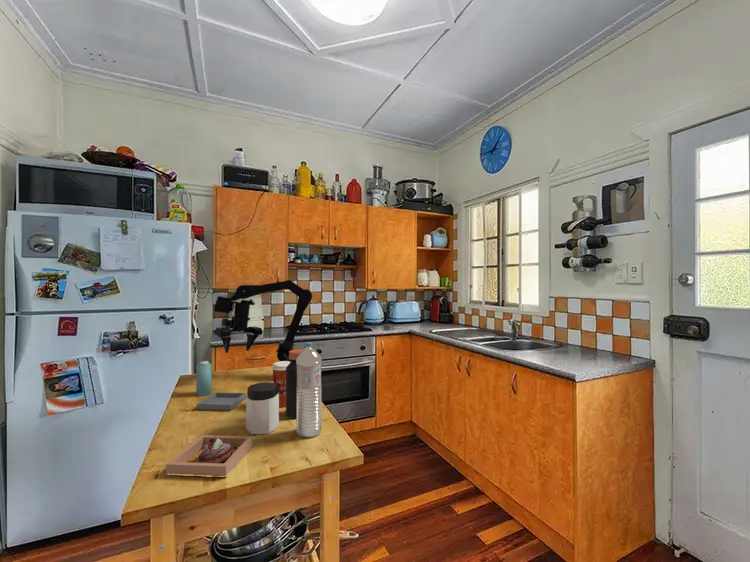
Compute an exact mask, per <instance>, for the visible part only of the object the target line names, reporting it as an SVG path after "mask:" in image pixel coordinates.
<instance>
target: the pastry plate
mask: <svg viewBox="0 0 750 562" xmlns="http://www.w3.org/2000/svg"><path fill="white" fill-rule="evenodd" d="M213 436H214V435H212V434H211V435H210V434H209V435H207V434H202V435H201V436H200V437H198V438H197V439H195V440H194V441H193V442H191V444H189V445H188V446H187V447H185V448H184V449H183V450H182V451H180V452H179V453H178V454H177V455H176V456H175V457H173V458H172V459H171V460H170V461H168V462H167V463H166V464H165V465H166V466H165V473H166V474H168V473H169V474H173V473H174V474H193V475H213V476H226V475H227V474H228V473H229V472H230V471H231V470H232V469H233V468H234V467H235V466H236V465H237V464H238V462H239V461H240V460H241V459H242V458H243V457H244V458H245V457H246V455H247V454H248V453H249V452H248V451H249V450H250V451H251V449H252V448H253V447H254V436H243V435H215V436H216V437H217V439H220V440H221V441H222V443H227V444H230V445H231V446H232V447H239V448H236V450H235V451H233V453H232V456H231V457H230V458H229V459H228V460H227V461H226V462H224V463H222V464H218V463H198V462H188V461H189V460H191V459H192V458H193V457H194V456H195V455H196V454H197V453H199V452H200V451H201V450H202V449H203V448H202V447H203V446H204V445H205V444H206V442H207V441H209V440H210V439H211V438H212V437H213ZM252 446H253V447H252ZM201 448H202V449H201ZM200 449H201V450H200ZM199 450H200V451H199ZM198 451H199V452H198ZM247 452H248V453H247ZM195 453H196V454H195ZM246 453H247V454H246ZM194 454H195V455H194ZM245 454H246V455H245ZM193 455H194V456H193ZM192 456H193V457H192ZM191 457H192V458H191ZM190 458H191V459H190ZM244 458H243V459H244ZM188 459H189V460H188ZM243 459H242V460H243ZM187 460H188V461H187ZM242 460H241V461H242ZM186 461H187V462H186ZM241 461H240V462H241ZM240 462H239V463H240ZM238 465H239V464H238ZM238 465H237V466H238ZM237 466H236V467H237ZM236 467H235V468H236ZM235 468H234V469H235ZM234 469H233V470H234ZM166 474H165V475H166Z"/></svg>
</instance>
